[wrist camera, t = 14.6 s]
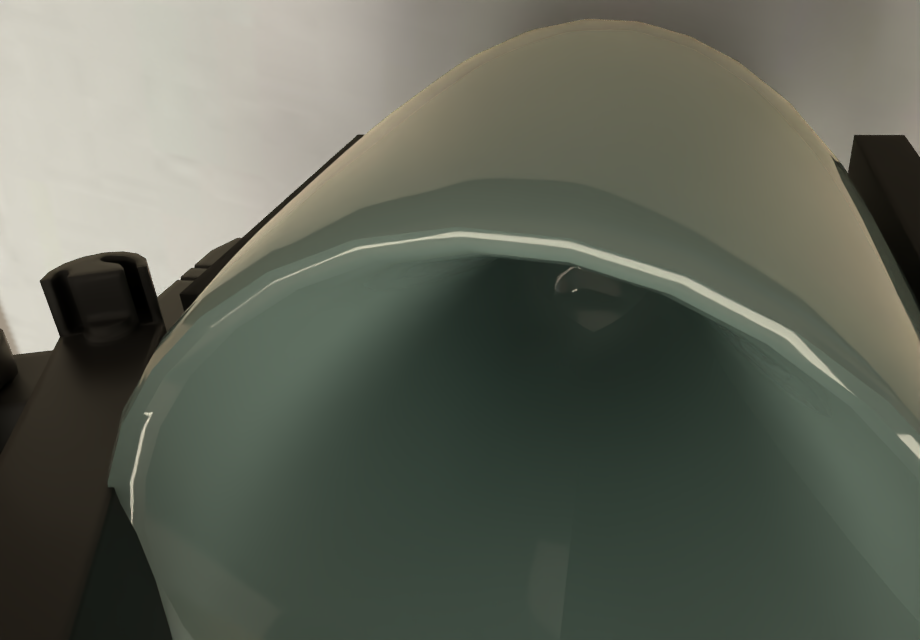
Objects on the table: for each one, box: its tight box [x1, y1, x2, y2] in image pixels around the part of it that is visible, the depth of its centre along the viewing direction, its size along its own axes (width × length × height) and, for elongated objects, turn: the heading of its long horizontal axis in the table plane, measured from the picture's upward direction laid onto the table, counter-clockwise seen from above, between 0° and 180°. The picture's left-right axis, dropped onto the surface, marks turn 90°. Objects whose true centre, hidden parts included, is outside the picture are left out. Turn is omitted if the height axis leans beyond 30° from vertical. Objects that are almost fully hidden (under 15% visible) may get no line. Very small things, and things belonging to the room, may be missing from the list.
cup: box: [108, 19, 920, 640], centre depth 11 cm, size 8×8×10 cm
